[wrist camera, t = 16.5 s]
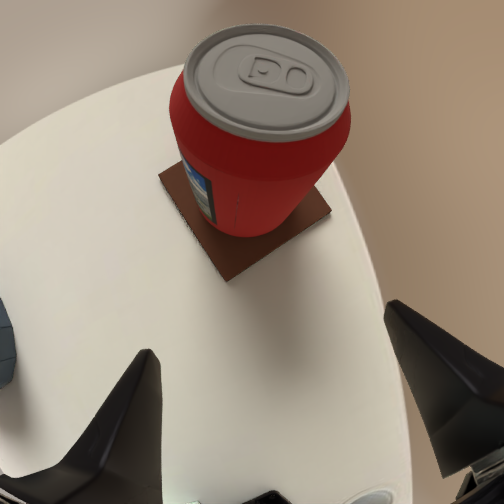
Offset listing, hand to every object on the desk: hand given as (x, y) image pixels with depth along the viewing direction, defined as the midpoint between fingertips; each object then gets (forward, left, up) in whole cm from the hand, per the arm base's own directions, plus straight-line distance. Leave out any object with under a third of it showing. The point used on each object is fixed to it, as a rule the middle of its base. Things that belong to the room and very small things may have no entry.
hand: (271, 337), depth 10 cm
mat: (+7, -4, -9) cm, 12 cm away
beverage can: (+7, -4, -9) cm, 12 cm away
